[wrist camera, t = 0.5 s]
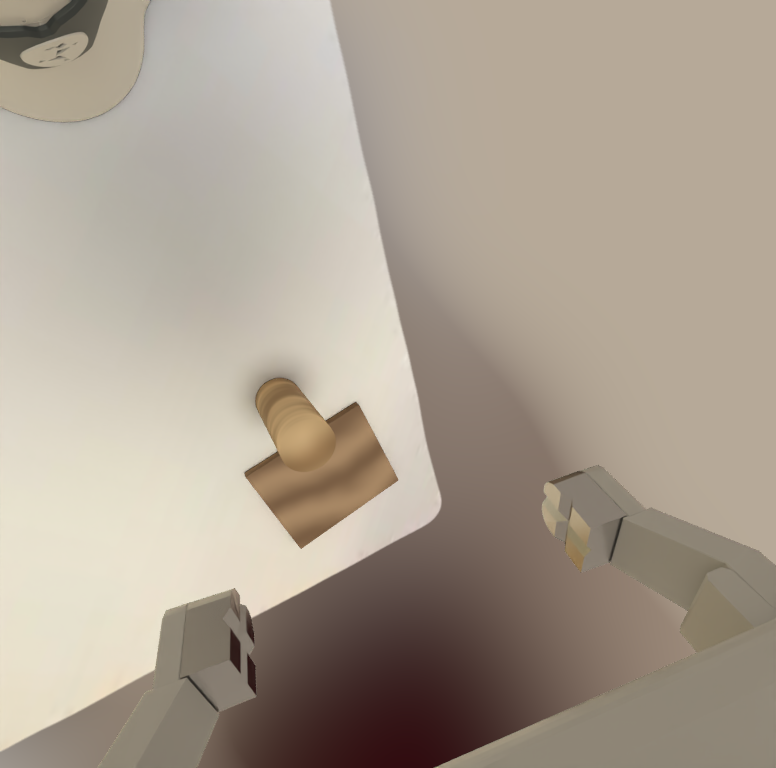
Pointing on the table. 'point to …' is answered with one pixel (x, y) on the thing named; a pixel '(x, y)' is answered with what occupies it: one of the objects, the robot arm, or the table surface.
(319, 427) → the oak roller
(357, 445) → the board
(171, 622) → the robot arm
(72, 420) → the table surface
